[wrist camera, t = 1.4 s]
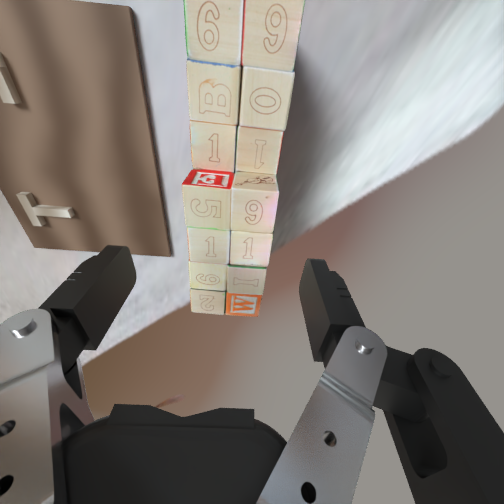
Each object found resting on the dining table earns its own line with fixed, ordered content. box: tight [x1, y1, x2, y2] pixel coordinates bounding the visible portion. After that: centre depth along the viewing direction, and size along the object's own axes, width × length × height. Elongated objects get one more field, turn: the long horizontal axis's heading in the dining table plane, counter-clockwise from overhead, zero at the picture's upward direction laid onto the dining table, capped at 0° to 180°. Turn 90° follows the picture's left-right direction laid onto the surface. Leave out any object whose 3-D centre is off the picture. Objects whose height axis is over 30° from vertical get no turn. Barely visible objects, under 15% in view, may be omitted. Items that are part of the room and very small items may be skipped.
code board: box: [0, 0, 171, 257], centre depth 24 cm, size 18×24×1 cm
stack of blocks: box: [182, 0, 305, 317], centre depth 20 cm, size 21×6×12 cm, turn 174°
